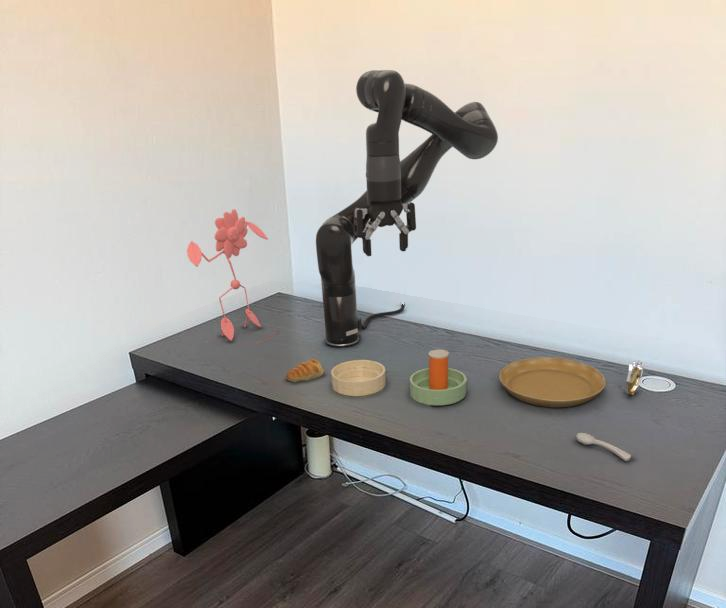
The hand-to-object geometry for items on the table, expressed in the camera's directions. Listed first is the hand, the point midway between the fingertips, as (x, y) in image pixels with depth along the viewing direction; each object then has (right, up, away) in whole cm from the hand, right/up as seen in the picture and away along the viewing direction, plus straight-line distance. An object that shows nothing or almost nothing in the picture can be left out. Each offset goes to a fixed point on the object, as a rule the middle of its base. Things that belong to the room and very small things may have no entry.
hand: (385, 253), depth 157 cm
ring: (+57, -33, 0) cm, 65 cm away
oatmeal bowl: (-6, -29, +11) cm, 32 cm away
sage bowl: (+13, -32, +5) cm, 35 cm away
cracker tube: (+13, -32, +4) cm, 34 cm away
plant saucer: (+39, -31, +4) cm, 50 cm away
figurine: (-39, -10, +44) cm, 60 cm away
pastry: (-20, -26, +17) cm, 37 cm away
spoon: (+43, -47, -20) cm, 66 cm away
